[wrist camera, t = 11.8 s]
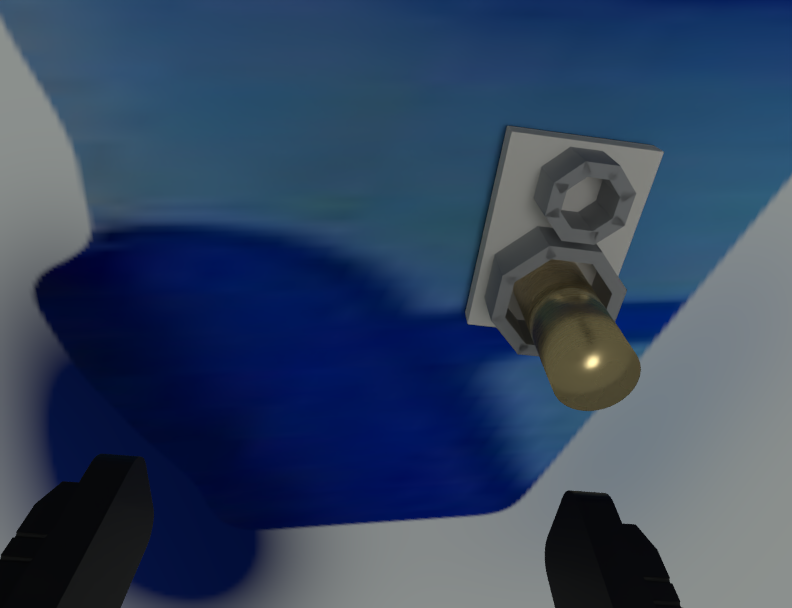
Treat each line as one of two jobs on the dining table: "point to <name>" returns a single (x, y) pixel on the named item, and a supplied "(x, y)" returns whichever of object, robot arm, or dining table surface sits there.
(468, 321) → the grey mounting plate
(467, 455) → the dining table surface
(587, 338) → the brass cylinder
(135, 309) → the dining table surface
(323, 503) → the dining table surface
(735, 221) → the dining table surface
